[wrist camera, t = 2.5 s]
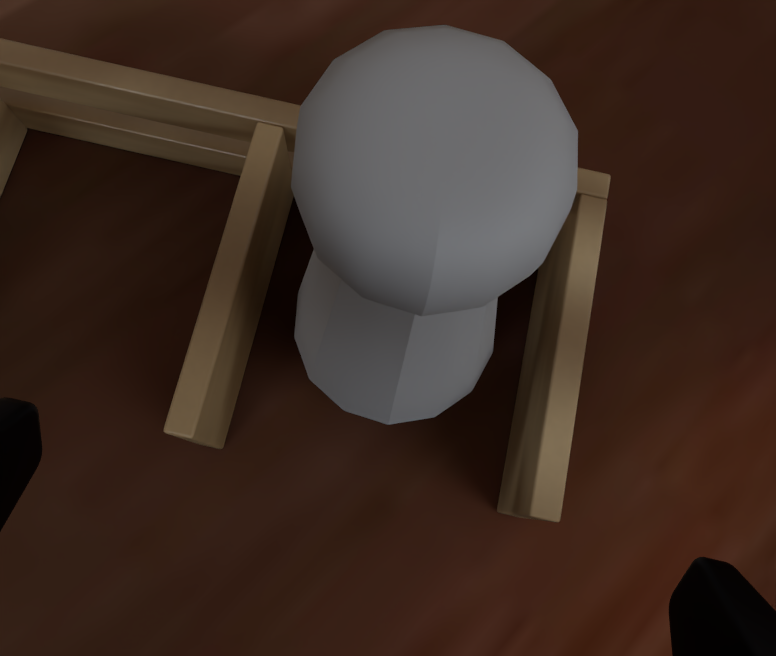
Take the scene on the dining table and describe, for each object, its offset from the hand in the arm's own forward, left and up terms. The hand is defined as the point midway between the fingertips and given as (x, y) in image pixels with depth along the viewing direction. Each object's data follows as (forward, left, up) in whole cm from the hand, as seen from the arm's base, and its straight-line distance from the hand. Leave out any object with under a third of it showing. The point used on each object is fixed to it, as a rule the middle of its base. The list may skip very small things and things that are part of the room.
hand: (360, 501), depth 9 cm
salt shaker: (+4, -3, -12) cm, 13 cm away
